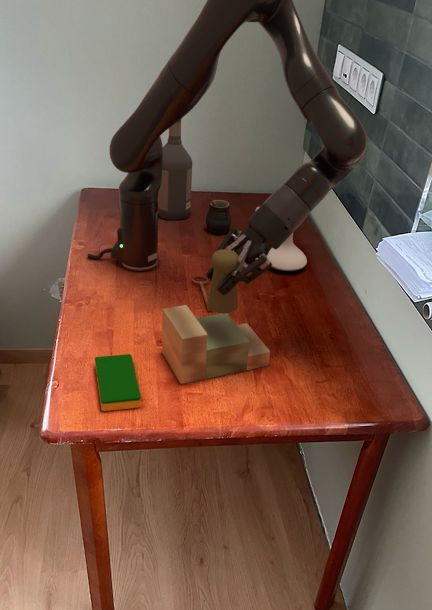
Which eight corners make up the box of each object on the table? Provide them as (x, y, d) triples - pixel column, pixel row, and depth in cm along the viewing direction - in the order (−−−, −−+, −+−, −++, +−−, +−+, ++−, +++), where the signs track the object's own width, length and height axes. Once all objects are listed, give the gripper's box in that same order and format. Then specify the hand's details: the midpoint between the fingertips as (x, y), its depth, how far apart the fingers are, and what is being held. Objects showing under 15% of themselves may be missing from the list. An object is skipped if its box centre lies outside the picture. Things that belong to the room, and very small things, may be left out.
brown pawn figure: (235, 315, 115) (239, 262, 109) (203, 310, 116) (206, 257, 109) (240, 299, 120) (245, 247, 113) (210, 295, 121) (213, 243, 114)
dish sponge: (131, 363, 123) (131, 353, 121) (141, 407, 112) (141, 397, 111) (95, 366, 121) (94, 356, 120) (101, 412, 111) (101, 401, 109)
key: (225, 311, 141) (213, 279, 152) (226, 308, 140) (214, 276, 152) (200, 311, 139) (190, 278, 151) (201, 307, 139) (191, 275, 150)
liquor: (161, 221, 177) (162, 110, 159) (154, 208, 184) (155, 101, 166) (191, 219, 179) (196, 110, 161) (184, 207, 186) (188, 101, 168)
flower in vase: (294, 280, 154) (309, 181, 139) (254, 266, 159) (265, 169, 143) (315, 261, 163) (332, 166, 148) (277, 249, 168) (290, 156, 152)
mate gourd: (235, 230, 176) (238, 196, 169) (221, 238, 170) (224, 204, 164) (214, 223, 178) (216, 189, 172) (200, 231, 173) (201, 197, 167)
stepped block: (245, 336, 133) (250, 294, 126) (268, 365, 125) (274, 322, 118) (161, 352, 126) (162, 308, 120) (180, 384, 118) (182, 338, 112)
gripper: (250, 189, 114) (187, 257, 117) (287, 220, 104) (217, 293, 107) (272, 213, 119) (211, 278, 122) (309, 245, 109) (242, 314, 112)
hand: (214, 285), depth 114 cm, fingers closed on brown pawn figure, 4 cm apart
